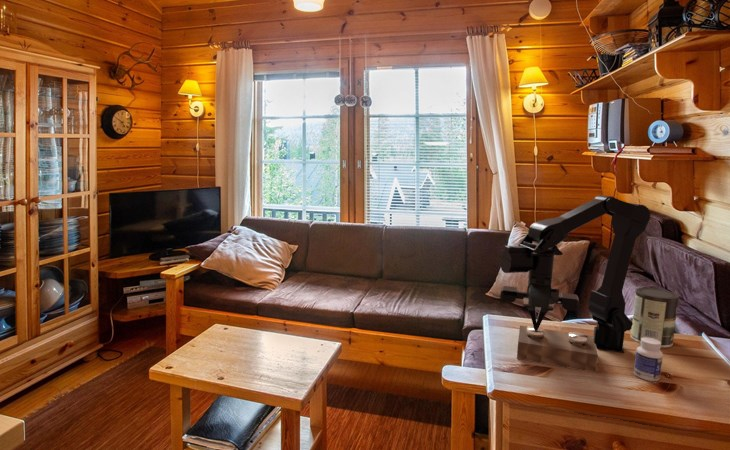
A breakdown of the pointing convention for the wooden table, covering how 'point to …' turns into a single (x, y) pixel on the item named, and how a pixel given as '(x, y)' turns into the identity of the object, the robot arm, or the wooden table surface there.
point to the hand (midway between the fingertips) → (535, 329)
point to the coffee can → (654, 315)
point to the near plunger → (577, 338)
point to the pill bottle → (648, 359)
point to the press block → (557, 350)
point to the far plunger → (535, 332)
